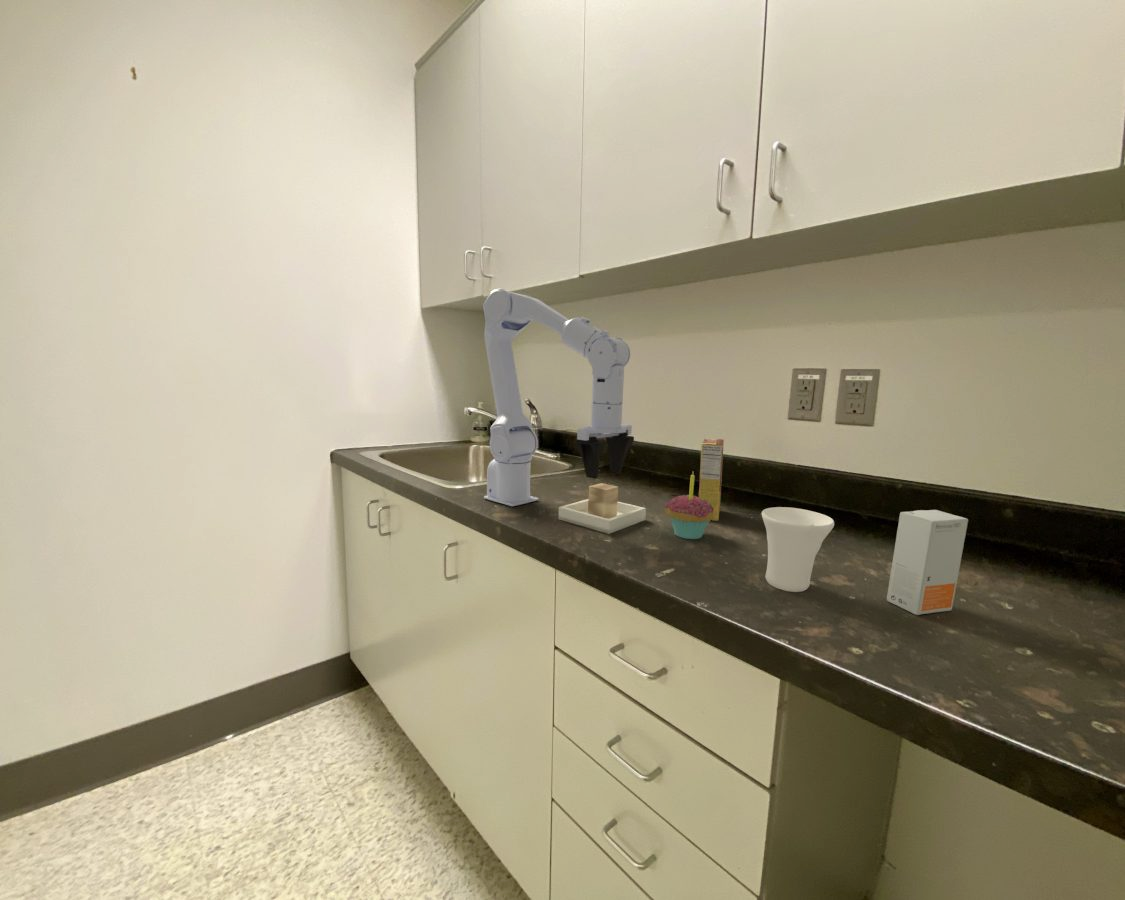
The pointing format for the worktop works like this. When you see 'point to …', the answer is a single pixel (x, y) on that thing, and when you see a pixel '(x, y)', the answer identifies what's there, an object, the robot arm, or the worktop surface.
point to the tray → (580, 516)
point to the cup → (793, 545)
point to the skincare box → (926, 561)
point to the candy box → (711, 473)
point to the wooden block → (603, 500)
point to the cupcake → (689, 514)
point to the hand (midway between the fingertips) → (603, 474)
